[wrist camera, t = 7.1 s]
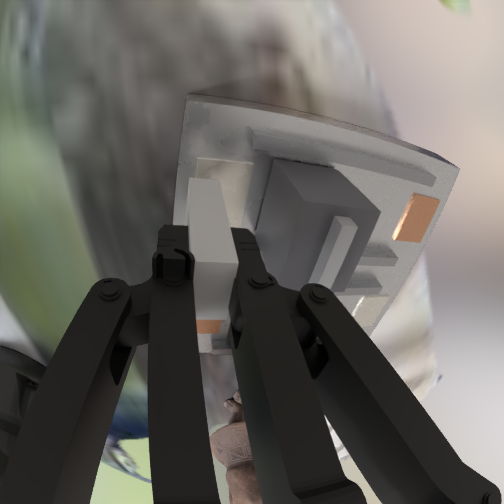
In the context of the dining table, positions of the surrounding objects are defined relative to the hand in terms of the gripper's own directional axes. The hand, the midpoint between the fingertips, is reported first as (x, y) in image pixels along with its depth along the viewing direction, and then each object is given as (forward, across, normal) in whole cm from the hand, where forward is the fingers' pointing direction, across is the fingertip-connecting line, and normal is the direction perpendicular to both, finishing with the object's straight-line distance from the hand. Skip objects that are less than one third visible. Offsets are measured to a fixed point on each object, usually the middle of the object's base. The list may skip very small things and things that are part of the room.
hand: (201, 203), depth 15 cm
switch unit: (+5, +9, -5) cm, 11 cm away
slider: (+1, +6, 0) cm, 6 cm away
